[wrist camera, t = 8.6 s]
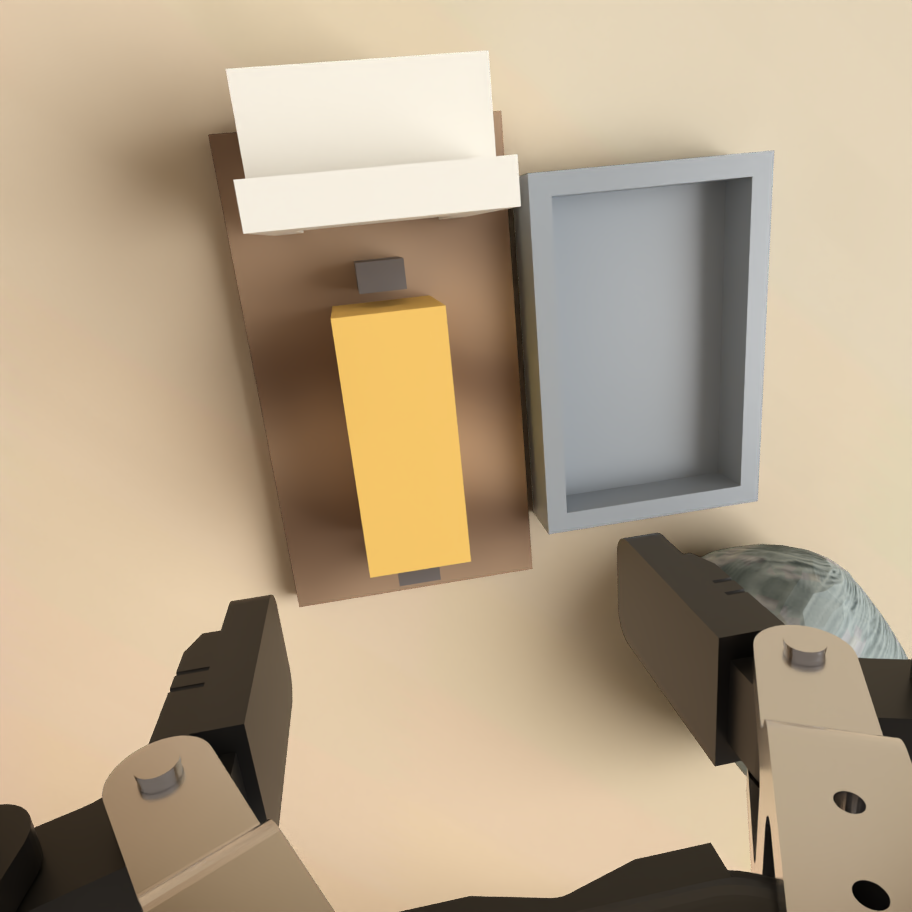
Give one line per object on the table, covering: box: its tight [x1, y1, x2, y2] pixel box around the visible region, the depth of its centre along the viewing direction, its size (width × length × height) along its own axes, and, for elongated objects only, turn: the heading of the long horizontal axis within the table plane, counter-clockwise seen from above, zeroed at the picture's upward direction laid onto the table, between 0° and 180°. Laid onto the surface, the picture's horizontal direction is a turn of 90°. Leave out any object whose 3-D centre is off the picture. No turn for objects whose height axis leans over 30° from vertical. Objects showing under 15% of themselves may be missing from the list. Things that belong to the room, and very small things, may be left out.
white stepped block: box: [226, 50, 521, 236], centre depth 20 cm, size 4×7×8 cm, turn 95°
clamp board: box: [209, 111, 532, 607], centre depth 25 cm, size 18×10×3 cm, turn 5°
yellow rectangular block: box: [331, 295, 471, 578], centre depth 25 cm, size 9×4×4 cm, turn 5°
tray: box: [513, 151, 774, 534], centre depth 27 cm, size 14×9×2 cm
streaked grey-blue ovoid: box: [701, 544, 908, 776], centre depth 30 cm, size 14×10×10 cm
